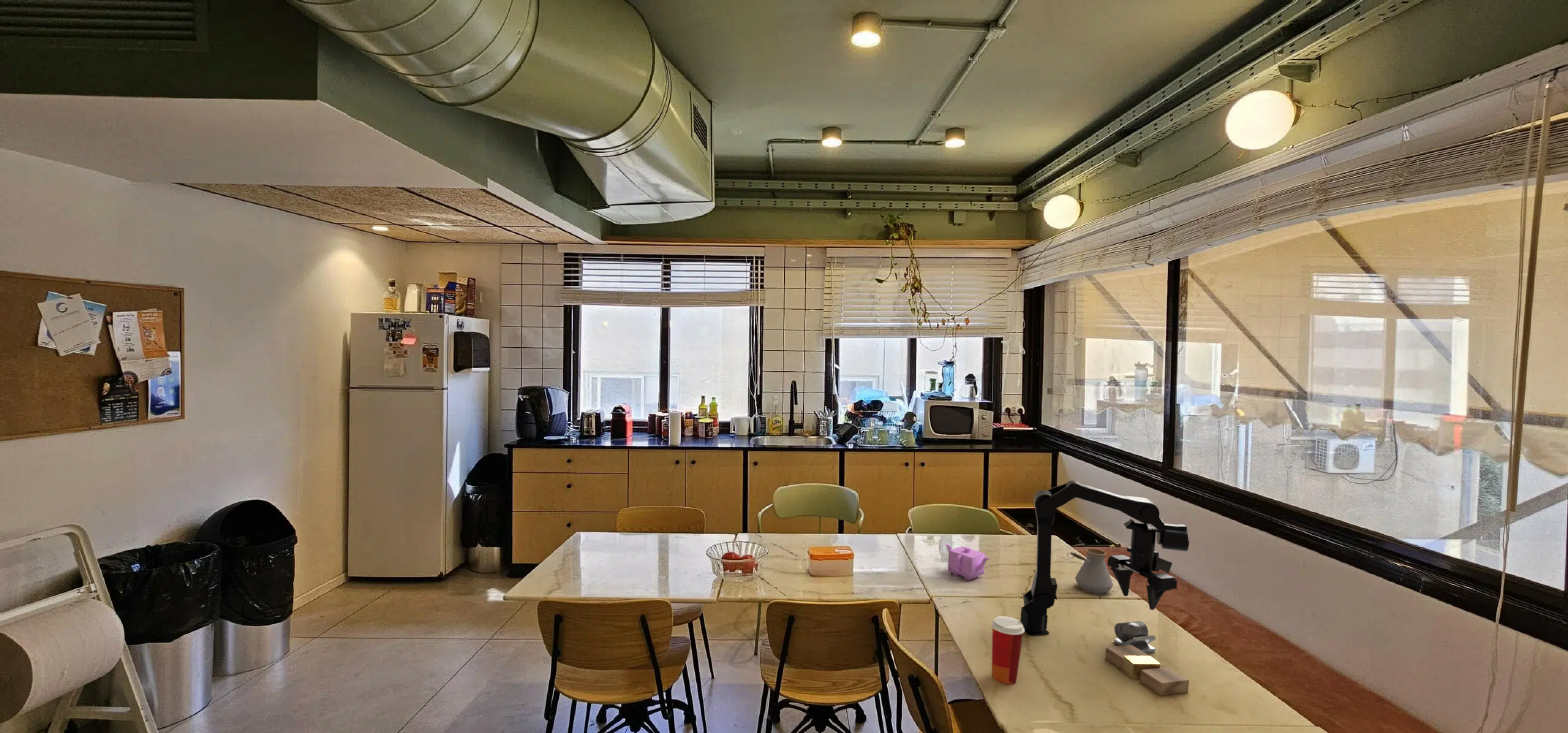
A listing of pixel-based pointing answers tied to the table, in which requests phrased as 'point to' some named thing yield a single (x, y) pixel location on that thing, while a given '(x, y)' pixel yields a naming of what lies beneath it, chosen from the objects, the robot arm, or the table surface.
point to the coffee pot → (1093, 572)
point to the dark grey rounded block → (1130, 630)
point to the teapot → (966, 562)
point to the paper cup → (1006, 648)
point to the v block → (1138, 643)
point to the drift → (1138, 665)
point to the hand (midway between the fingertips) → (1138, 602)
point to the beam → (1150, 672)
